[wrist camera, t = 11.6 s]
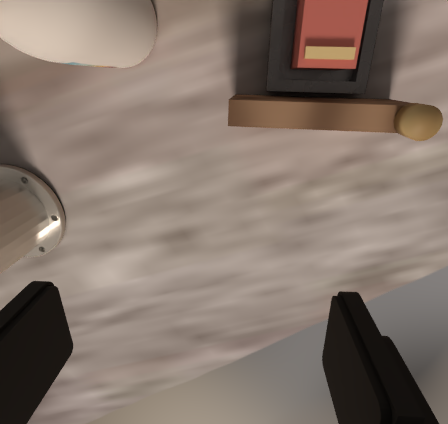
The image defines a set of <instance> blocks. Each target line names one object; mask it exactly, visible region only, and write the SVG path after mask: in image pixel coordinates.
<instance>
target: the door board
mask: <svg viewBox="0 0 448 424" xmlns="http://www.w3.org/2000/svg"><path fill="white" fill-rule="evenodd" d="M442 121H443V117H442V113H441V111H440V110H439V109H438V108H436V107H434V106H431V105H425V104H419V103H408V102H402V101H396V100H390V99H364V98H332V97H301V96H270V95H239V94H236V95H235V96H233V97H232V98H230V99H229V113H228V126H240V127H264V128H289V129H313V130H338V131H362V132H386V133H399V134H400V135H403V136H405V137H408V138H410V139H413V140H416V141H424V140H427V139H429V138H431V137H433V136H434V135H435V134H436V133H437V132H438V131H439V129H440V127H441V125H442Z"/></svg>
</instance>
